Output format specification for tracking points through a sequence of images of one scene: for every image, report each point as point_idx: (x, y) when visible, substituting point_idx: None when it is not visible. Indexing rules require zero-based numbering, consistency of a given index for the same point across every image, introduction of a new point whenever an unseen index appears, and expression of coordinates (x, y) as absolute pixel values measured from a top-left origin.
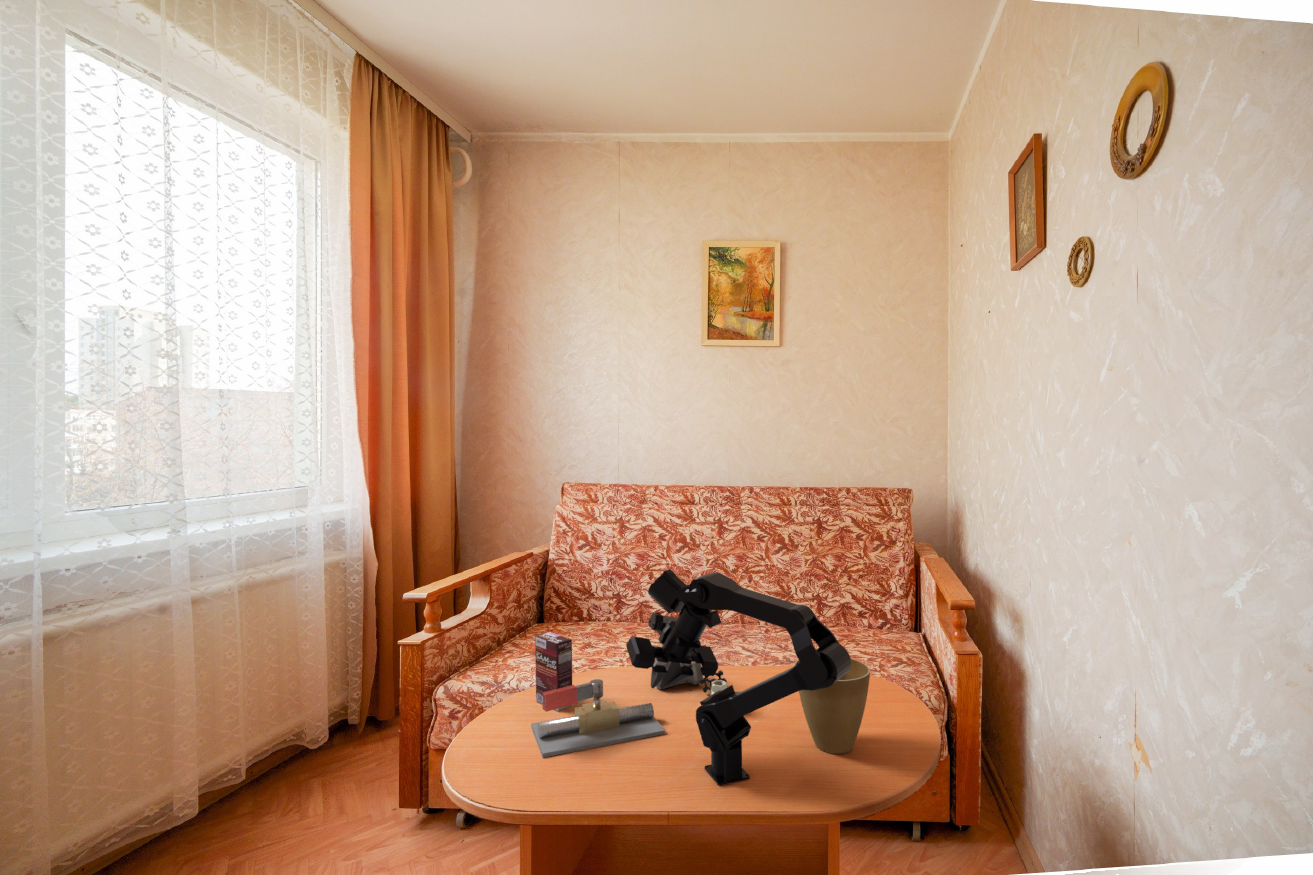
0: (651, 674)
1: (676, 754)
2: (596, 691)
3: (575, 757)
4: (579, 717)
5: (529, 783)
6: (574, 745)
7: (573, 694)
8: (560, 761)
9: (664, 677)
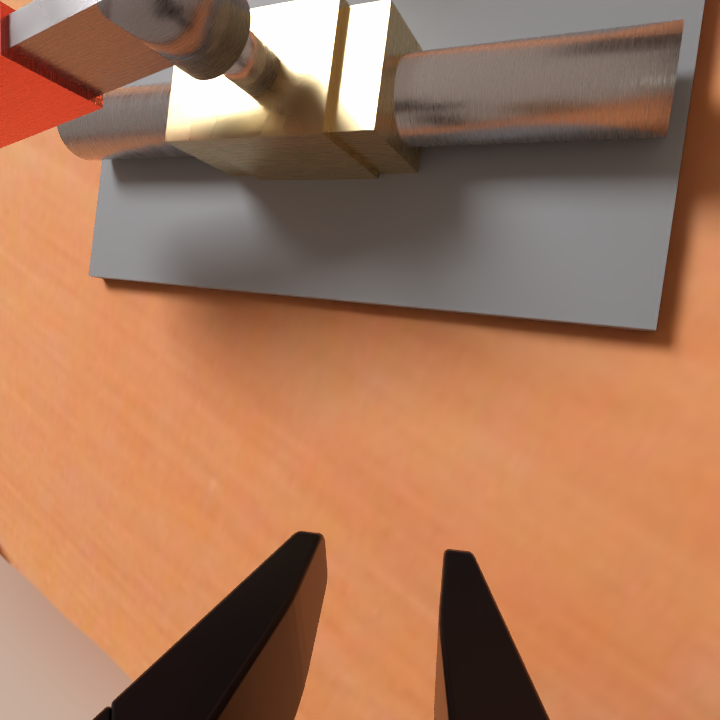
0: (181, 644)
1: (584, 587)
2: (161, 54)
3: (183, 335)
4: (175, 146)
5: (38, 420)
6: (188, 267)
7: (28, 86)
8: (137, 336)
9: (443, 692)
